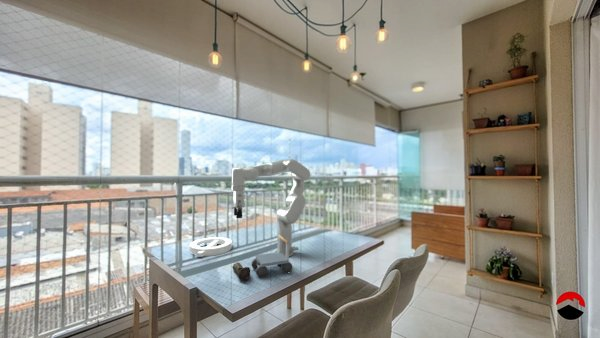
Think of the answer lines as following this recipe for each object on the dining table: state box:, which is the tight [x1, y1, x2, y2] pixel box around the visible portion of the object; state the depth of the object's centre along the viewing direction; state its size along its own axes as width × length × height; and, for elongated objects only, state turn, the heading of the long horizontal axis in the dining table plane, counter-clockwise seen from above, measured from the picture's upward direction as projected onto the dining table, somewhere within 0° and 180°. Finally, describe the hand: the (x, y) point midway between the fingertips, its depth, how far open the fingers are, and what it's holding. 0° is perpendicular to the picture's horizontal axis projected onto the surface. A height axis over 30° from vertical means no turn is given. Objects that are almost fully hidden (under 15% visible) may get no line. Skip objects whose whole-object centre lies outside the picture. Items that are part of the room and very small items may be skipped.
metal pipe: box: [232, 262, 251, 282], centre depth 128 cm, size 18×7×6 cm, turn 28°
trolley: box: [251, 235, 293, 279], centre depth 134 cm, size 20×14×18 cm
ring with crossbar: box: [189, 236, 233, 258], centre depth 170 cm, size 28×28×5 cm
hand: (237, 216), depth 145 cm, fingers open, 9 cm apart
